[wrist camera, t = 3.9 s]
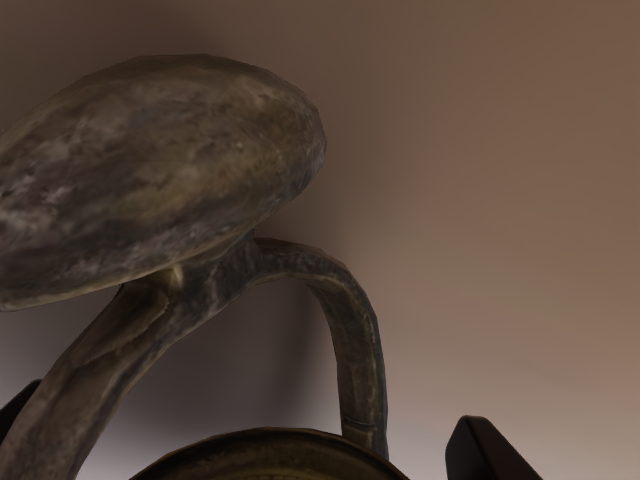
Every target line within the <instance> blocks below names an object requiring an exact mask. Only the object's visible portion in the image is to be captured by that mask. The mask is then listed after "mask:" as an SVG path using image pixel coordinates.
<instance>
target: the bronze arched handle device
mask: <svg viewBox="0 0 640 480" xmlns="http://www.w3.org/2000/svg"><path fill="white" fill-rule="evenodd" d="M326 143H327V141H326V137H325V134H324V131H323V127H322V124H321V120H320V117H319V114H318V110H317V108H316V106H315V105H314V104H313V103H312V102H311V101H310V100H309V98H308V97H307V96H306V95H305V94H304V93H303V91H301V90H299V89H298V88H296V87H294V86H293V85H291V84H290V83H288V82H286V81H285V80H283V79H281V78H280V77H278V76H277V75H275V74H273V73H272V72H270V71H268V70H267V69H263V68H260V67H256V66H252V65H249V64H245V63H242V62H238V61H235V60H231V59H227V58H223V57H218V56H213V55H207V54H197V55H159V56H139V57H136V58H133V59H131V60H128V61H125V62H122V63H120V64H117V65H114V66H111V67H109V68H106V69H103V70H101V71H98V72H95V73H92V74H90V75H87V76H84V77H82V78H81V79H79V80H78V81H76V82H74V83H73V84H71V85H70V86H68V87H66V88H65V89H63V90H62V91H60V92H58V93H57V94H55V95H53V96H52V97H50V98H49V99H47V100H45V101H44V102H42V103H41V104H39V105H37V106H36V107H34V108H32V109H31V110H30V111H28V112H27V113H26V114H25V115H24V116H23V117H22V118H20V119H19V120H18V121H17V122H16V123H15V124H13V125H12V126H11V127H10V128H9V129H8V130H6V131H5V132H4V133H3V134H2V135H1V136H0V311H1V312H12V311H18V310H23V309H27V308H31V307H36V306H40V305H44V304H49V303H53V302H57V301H62V300H66V299H70V298H73V297H76V296H80V295H83V294H87V293H90V292H93V291H97V290H100V289H104V288H107V287H110V286H114V285H117V284H121V283H122V285H121V287H120V288H119V290H118V292H117V293H116V295H115V297H114V298H113V300H112V301H111V302H110V303H109V304H108V305H107V307H106V308H105V309H104V310H103V311H102V312H101V313H100V314H99V315H98V316H97V317H96V318H95V319H94V321H93V322H92V323H91V324H90V325H89V326H88V327H87V328H86V329H85V330H84V331H83V332H82V333H81V334H80V336H79V337H78V338H77V339H76V340H75V341H74V342H73V343H72V344H71V345H70V346H69V347H68V348H67V350H66V351H65V352H64V353H63V354H62V355H61V356H60V357H59V358H58V360H57V361H56V362H55V364H54V365H53V367H52V368H51V369H50V371H49V372H48V374H47V375H46V376H45V378H44V379H43V381H42V382H41V383H40V385H39V386H38V388H37V389H36V390H35V392H34V393H33V395H32V396H31V397H30V399H29V400H28V402H27V403H26V404H25V406H24V407H23V409H22V410H21V411H20V413H19V414H18V416H17V417H16V419H15V421H14V422H13V424H12V426H11V428H10V430H9V431H8V433H7V435H6V437H5V439H4V440H3V442H2V444H1V446H0V480H75V479H76V477H77V474H78V472H79V470H80V468H81V466H82V464H83V463H84V461H85V459H86V458H87V456H88V455H89V453H90V451H91V450H92V448H93V446H94V445H95V443H96V442H97V440H98V438H99V437H100V435H101V434H102V432H103V430H104V429H105V427H106V425H107V424H108V422H109V421H110V419H111V417H112V416H113V414H114V413H115V411H116V409H117V408H118V406H119V404H120V403H121V401H122V400H123V398H124V396H125V395H126V394H127V393H128V392H129V391H130V390H131V389H132V388H133V386H134V385H135V384H136V383H137V382H138V381H139V380H140V379H141V378H142V376H143V375H144V374H145V373H146V372H147V371H148V370H149V369H150V368H151V366H152V365H153V364H154V363H155V362H156V361H157V360H158V359H159V358H160V357H161V355H162V354H163V353H164V352H165V351H166V350H167V349H168V348H169V347H170V346H171V345H173V344H174V343H176V342H177V341H179V340H180V339H182V338H183V337H185V336H186V335H187V334H189V333H190V332H192V331H193V330H195V329H196V328H198V327H199V326H201V325H202V324H203V323H205V322H206V321H208V320H209V319H211V318H212V317H214V316H215V315H217V314H218V313H220V312H221V311H222V310H223V309H225V308H226V307H227V306H228V305H230V304H231V303H232V302H233V301H235V300H236V299H237V298H238V297H239V296H241V295H242V294H243V293H244V292H246V291H247V290H248V289H249V288H250V287H251V286H253V285H257V284H261V283H264V282H268V281H272V280H275V279H279V278H283V277H286V276H288V277H295V278H297V279H299V280H301V281H303V282H304V283H305V285H306V286H307V287H308V288H309V289H310V290H311V291H312V293H313V294H314V295H315V296H316V297H317V298H318V299H319V301H320V303H321V306H322V308H323V311H324V313H325V316H326V319H327V321H328V324H329V326H330V331H331V336H332V341H333V346H334V351H335V356H336V361H337V381H338V393H339V404H340V416H341V429H342V436H341V435H337V434H333V433H328V432H324V431H319V430H315V429H308V428H285V427H259V428H252V429H247V430H241V431H236V432H231V433H226V434H220V435H215V436H212V437H209V438H207V439H204V440H201V441H199V442H196V443H194V444H191V445H188V446H186V447H183V448H181V449H178V450H175V451H173V452H170V453H168V454H166V455H164V456H163V457H161V458H160V459H158V460H157V461H155V462H154V463H152V464H151V465H149V466H148V467H146V468H145V469H143V470H142V471H140V472H139V473H137V474H136V475H135V476H133V477H132V478H130V479H129V480H410V479H409V478H408V477H406V476H405V475H404V474H403V473H402V472H401V471H400V470H399V469H397V468H396V467H395V466H394V465H393V464H392V463H391V462H389V454H388V446H387V438H386V430H387V416H388V404H387V391H386V378H385V366H384V360H383V353H382V347H381V341H380V335H379V329H378V322H377V317H376V315H375V313H374V310H373V308H372V306H371V304H370V302H369V300H368V298H367V295H366V293H365V291H364V290H363V289H362V287H361V286H360V285H359V283H358V282H357V281H356V279H355V278H354V277H353V275H352V274H351V273H350V271H349V270H348V269H347V267H346V266H345V265H344V264H343V263H342V262H340V261H338V260H336V259H334V258H332V257H331V256H329V255H327V254H325V253H324V252H323V251H322V250H321V249H318V248H314V247H310V246H306V245H302V244H297V243H292V242H287V241H282V240H277V239H272V238H253V231H254V227H255V226H256V225H258V224H259V223H260V222H262V221H263V220H265V219H266V218H267V217H269V216H270V215H272V214H273V213H275V212H276V211H277V210H279V209H280V208H282V207H283V206H284V205H286V204H287V203H289V202H290V201H291V200H293V199H294V198H295V197H297V196H298V195H299V194H300V193H301V192H302V191H303V190H304V188H305V187H306V186H307V185H308V183H309V182H310V181H311V180H312V178H313V177H314V176H315V175H316V173H317V172H318V171H319V170H320V168H321V167H322V166H323V165H324V160H325V152H326Z"/></svg>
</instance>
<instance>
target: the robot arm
mask: <svg viewBox="0 0 640 480" xmlns="http://www.w3.org/2000/svg"><path fill="white" fill-rule="evenodd" d="M42 381H43V379H37V380H34V381H32V382H31V383H30V384H28V385H27V386H26V387H25V388H24V389H23V390H22V391H21V392H20V393H18V394H17V395H16V396H15V397H14V398H13V399H12V400H11V401H10V402H8V403H7V404H6V405H5V406H4V407H3V408H2V409H1V410H0V446H1V444H2V442H3V440H4V439H5V437H6V435H7V433H8V431H9V430H10V428H11V426H12V424H13V422H14V421H15V419H16V417H17V416H18V414H19V413H20V411H21V410H22V409H23V407H24V406H25V404H26V403H27V402H28V400H29V399H30V397H31V396H32V395H33V393H34V392H35V390H36V389H37V388H38V386H39V385H40V383H41V382H42ZM445 461H446V469H447V478H448V480H543V479H542V478H541V477H540V476H539V475H538V474H537V472H536V471H535V470H534V469H533V468H532V467H531V466H530V465H529V464H528V463H527V461H526V460H525V459H524V458H523V457H522V456H521V455H520V454H519V453H518V452H517V450H516V449H515V448H514V447H513V446H512V445H511V444H510V443H509V442H508V441H507V440H506V438H505V437H504V436H503V435H502V434H501V433H500V432H499V431H498V430H497V429H496V427H495V426H494V425H493V424H492V423H491V422H490V421H489V420H488V419H486V418H485V417H481V416H469V415H464V416H462V417H461V418H460V419H459V421H458V423H457V425H456V427H455V429H454V431H453V433H452V435H451V437H450V439H449V442H448V444H447V447H446V452H445Z"/></svg>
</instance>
